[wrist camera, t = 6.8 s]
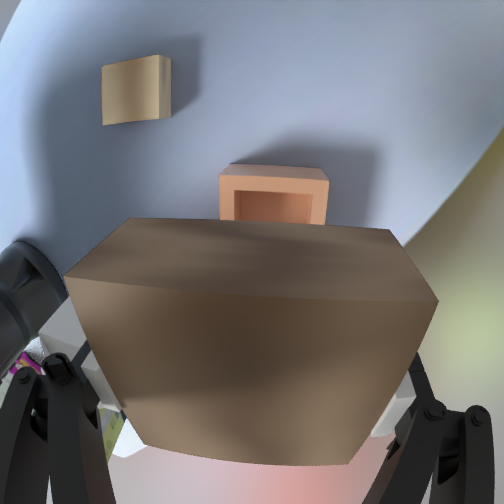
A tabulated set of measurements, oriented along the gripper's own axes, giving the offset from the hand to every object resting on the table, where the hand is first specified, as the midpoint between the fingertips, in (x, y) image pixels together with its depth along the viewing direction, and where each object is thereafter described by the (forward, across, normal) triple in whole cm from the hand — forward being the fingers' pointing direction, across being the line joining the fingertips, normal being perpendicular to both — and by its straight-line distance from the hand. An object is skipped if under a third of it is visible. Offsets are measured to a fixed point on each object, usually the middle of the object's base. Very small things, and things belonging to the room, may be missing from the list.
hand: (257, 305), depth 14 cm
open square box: (+16, 0, 0) cm, 16 cm away
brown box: (-2, 0, 0) cm, 2 cm away
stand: (+16, +13, -12) cm, 23 cm away
